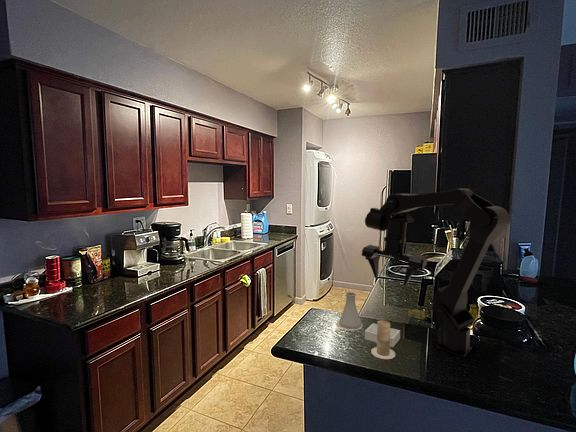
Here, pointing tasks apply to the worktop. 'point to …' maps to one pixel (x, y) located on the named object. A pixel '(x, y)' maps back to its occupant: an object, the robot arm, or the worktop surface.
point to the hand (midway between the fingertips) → (390, 282)
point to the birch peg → (383, 338)
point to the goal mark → (347, 328)
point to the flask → (350, 313)
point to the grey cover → (372, 334)
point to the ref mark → (390, 356)
